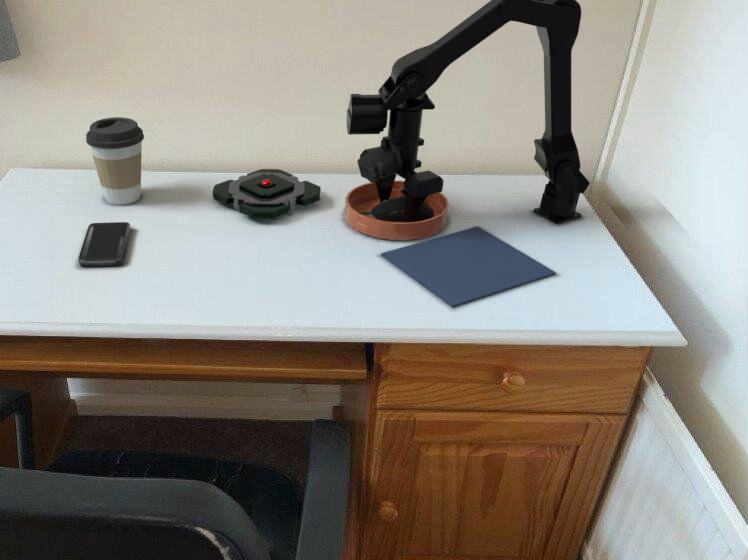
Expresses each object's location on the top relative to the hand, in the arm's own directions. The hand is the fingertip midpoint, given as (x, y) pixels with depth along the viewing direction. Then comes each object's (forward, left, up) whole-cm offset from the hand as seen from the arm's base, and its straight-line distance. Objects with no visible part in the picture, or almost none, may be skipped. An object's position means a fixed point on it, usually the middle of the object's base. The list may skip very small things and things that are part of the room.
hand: (395, 213), depth 148 cm
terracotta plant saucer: (0, 0, -1) cm, 1 cm away
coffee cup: (+43, -35, -1) cm, 55 cm away
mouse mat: (0, +21, -1) cm, 21 cm away
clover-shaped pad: (+18, -19, -1) cm, 26 cm away
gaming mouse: (0, 0, -1) cm, 1 cm away
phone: (+53, -16, -1) cm, 55 cm away
